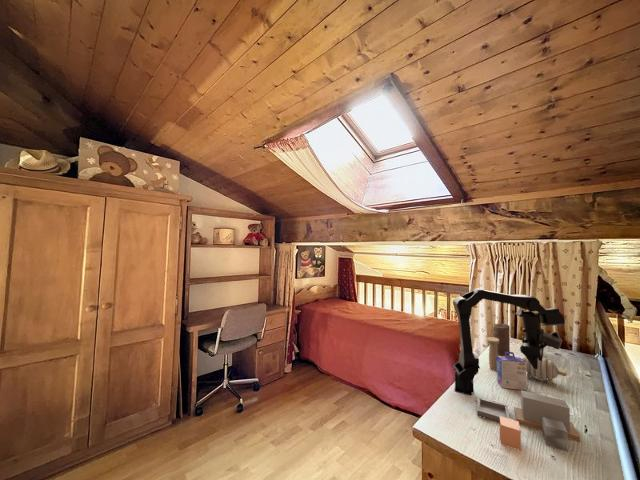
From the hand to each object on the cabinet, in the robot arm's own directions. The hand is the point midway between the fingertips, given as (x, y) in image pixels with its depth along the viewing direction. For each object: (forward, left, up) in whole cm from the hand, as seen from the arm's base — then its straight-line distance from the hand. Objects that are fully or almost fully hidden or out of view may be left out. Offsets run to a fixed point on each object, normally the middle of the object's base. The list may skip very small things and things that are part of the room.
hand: (538, 364), depth 105 cm
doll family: (+4, +49, -14) cm, 51 cm away
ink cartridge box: (-9, +6, -14) cm, 17 cm away
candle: (-11, +33, -14) cm, 37 cm away
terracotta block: (-13, -35, -14) cm, 40 cm away
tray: (-17, -21, -14) cm, 30 cm away
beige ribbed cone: (+3, +19, -14) cm, 24 cm away
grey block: (-1, -28, -14) cm, 32 cm away
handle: (-15, +21, -14) cm, 29 cm away
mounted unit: (-2, -19, -14) cm, 24 cm away
